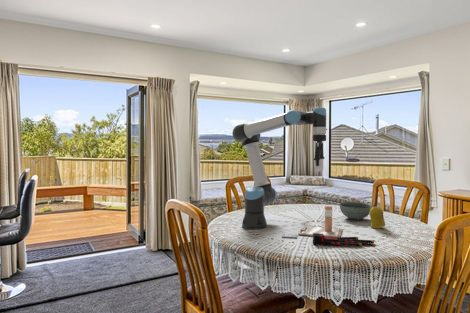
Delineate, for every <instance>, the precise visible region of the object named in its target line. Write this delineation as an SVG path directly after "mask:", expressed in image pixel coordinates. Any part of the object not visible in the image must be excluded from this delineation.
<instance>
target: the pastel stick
mask: <svg viewBox="0 0 470 313" xmlns="http://www.w3.org/2000/svg"><path fill="white" fill-rule="evenodd" d="M324 227H325V232H332V228H333V206H331V205H324Z"/></svg>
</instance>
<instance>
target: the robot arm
mask: <svg viewBox="0 0 470 313" xmlns="http://www.w3.org/2000/svg"><path fill="white" fill-rule="evenodd" d="M293 125H295V126H304V125H307V126H308V125H312V134H313V135H312V141H313V142H315V151H314V158H313V161H315V162H314V163H315V164H314V168H315V169H314V172H315V173H320V172H321V171H323V170H324V160H325V156H324V142H326V141H327V135H326V133H327V131H328V128H327V109H326V108H325V107H314V108H313V109H312V110H311V111H299V110H296V109H293V110H292V109H291V110H288V111H287V112H286V113H285V112H284V113H282V114H279V115H278V114H277V115H275V116H270V117H267V118H264V119H260V120H257V121H254V122H251V123H248V122H245V123H241V124H237V125H236V126H234V128H233V129H232V133H231V134H232V137H233V139H234V140H235V142H237V143H241V145H242V148H243V149H245V151H246V152H245V153H246V156H247V160H248V163H249V166H250V172H251V174H252V178H253V182H254V185H253V186H252V187H248V188H246V189H245V191H244V216H243V218H242V222H241V224H242V225H241V226H242V228H244V229H248V230H249V229H250V230H261V229H265V228H267V227H268V223H267V219H266V216H265V207H267V206H271V205H272V204H273V203H275V201H277V200H276V199H277V197H278V196H277V191H276V189H275V188H274V187H273V186H272V182H270V181H269V180H268V177H267V173H266V169H265V166H264V162H263V160H262V159H263V158H262V155H261V150H260V147H259V145H260V144H261V143H260V141H261V140H260V138H261V134H264V133H267V132H271V131H274V130H278V129H282V128H284V127H289V126H293Z"/></svg>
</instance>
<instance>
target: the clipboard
mask: <svg viewBox="0 0 470 313" xmlns="http://www.w3.org/2000/svg"><path fill="white" fill-rule="evenodd" d="M313 233H319V234H323V235H324V236H329V237H342V233H343V228H336V227H332V232H325V226H315V225H314V226H311V225H304V226H303V225H302V227H301V228H300V231H299V232H298V234H297V236H303V237H309V238H310V237H311V238H313Z"/></svg>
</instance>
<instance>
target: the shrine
mask: <svg viewBox="0 0 470 313" xmlns="http://www.w3.org/2000/svg"><path fill="white" fill-rule="evenodd" d="M368 216H370V217H369V218H370V227H371V229H377V230H378V229H381V228H382V229H383V228H384V227H385V226H386V221H385V217H384V210H383V209H382V208H381V207H380V206H378V205H377V204H374V205H372V208H371V209H370V213H369V215H368Z"/></svg>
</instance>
